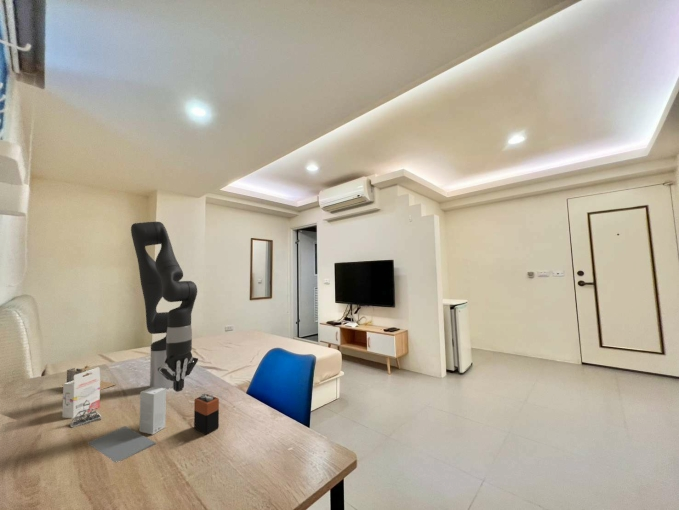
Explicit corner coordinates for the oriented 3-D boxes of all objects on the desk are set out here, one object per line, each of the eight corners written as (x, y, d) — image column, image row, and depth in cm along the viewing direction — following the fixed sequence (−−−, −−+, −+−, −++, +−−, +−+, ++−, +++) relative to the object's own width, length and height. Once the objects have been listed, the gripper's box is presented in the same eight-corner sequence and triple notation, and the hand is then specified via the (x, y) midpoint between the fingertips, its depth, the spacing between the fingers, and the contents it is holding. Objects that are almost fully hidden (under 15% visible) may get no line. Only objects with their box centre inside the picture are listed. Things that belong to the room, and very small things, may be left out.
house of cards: (104, 410, 95) (105, 388, 95) (108, 419, 89) (108, 396, 90) (68, 421, 88) (69, 398, 89) (70, 431, 82) (71, 406, 83)
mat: (124, 428, 83) (125, 426, 83) (155, 444, 74) (155, 442, 74) (68, 453, 71) (68, 451, 72) (96, 476, 63) (96, 473, 63)
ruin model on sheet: (116, 384, 119) (116, 362, 119) (68, 401, 103) (69, 375, 104) (84, 377, 128) (85, 357, 129) (36, 391, 113) (37, 368, 113)
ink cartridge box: (89, 406, 98) (91, 365, 99) (100, 407, 97) (101, 366, 98) (60, 418, 89) (63, 374, 91) (72, 420, 88) (74, 375, 90)
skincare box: (166, 427, 83) (166, 388, 84) (152, 435, 79) (153, 394, 79) (152, 424, 85) (153, 386, 85) (138, 431, 81) (139, 391, 81)
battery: (206, 435, 78) (206, 400, 79) (193, 429, 81) (193, 395, 82) (219, 428, 82) (219, 395, 82) (206, 422, 85) (207, 390, 86)
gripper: (191, 334, 98) (190, 381, 97) (152, 342, 86) (151, 396, 85) (204, 335, 94) (203, 385, 93) (165, 344, 83) (163, 401, 82)
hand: (178, 390), depth 89 cm, fingers closed
